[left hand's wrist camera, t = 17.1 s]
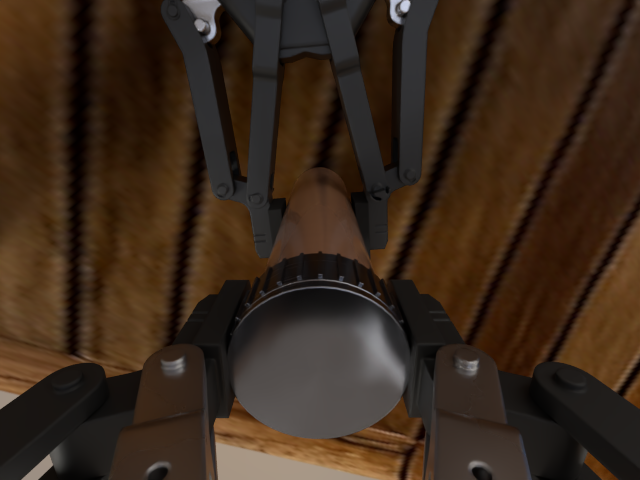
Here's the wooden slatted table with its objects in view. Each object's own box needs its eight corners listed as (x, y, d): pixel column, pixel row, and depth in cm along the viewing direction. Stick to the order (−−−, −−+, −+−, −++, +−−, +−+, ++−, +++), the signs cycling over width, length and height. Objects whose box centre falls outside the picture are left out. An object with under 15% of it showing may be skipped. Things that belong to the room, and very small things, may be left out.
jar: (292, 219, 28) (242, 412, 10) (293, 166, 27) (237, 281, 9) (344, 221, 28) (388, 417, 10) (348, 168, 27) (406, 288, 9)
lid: (341, 407, 12) (346, 465, 10) (212, 343, 11) (190, 394, 9) (430, 300, 11) (455, 344, 9) (290, 218, 10) (283, 246, 8)
